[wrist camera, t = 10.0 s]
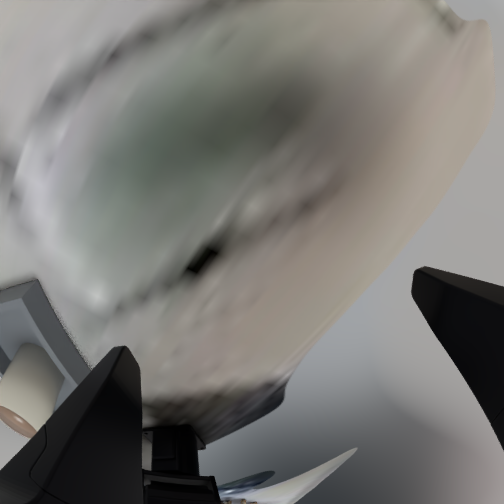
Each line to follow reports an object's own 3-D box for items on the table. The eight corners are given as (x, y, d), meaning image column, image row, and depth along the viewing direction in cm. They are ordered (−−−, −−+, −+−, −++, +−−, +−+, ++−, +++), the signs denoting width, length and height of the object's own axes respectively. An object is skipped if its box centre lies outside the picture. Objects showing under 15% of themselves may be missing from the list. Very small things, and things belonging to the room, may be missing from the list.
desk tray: (122, 410, 25) (119, 431, 22) (52, 410, 24) (46, 427, 22) (37, 279, 18) (21, 297, 15) (-27, 299, 17) (-41, 314, 14)
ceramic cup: (75, 383, 22) (56, 445, 15) (39, 384, 22) (18, 438, 14) (44, 340, 19) (12, 403, 12) (9, 344, 19) (-21, 398, 12)
